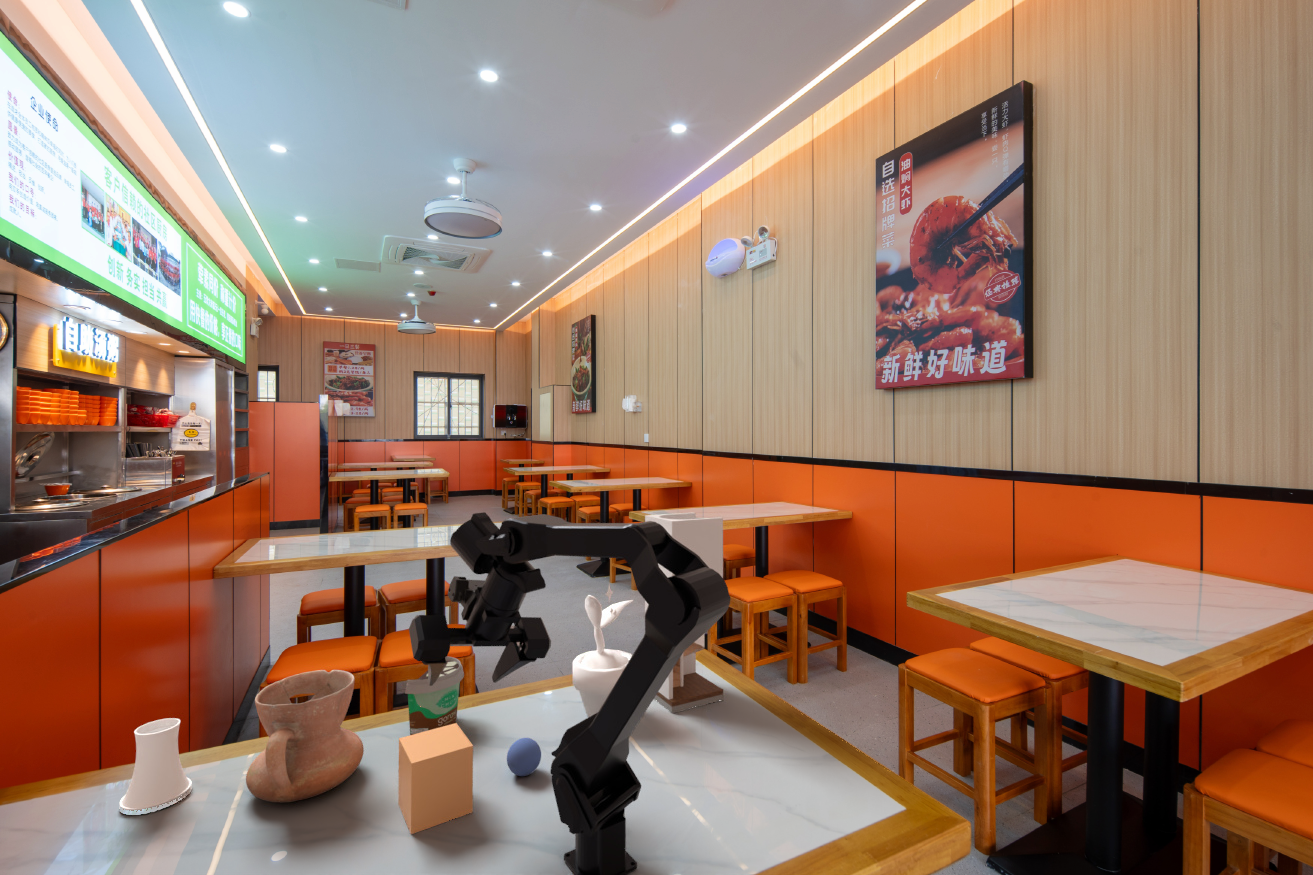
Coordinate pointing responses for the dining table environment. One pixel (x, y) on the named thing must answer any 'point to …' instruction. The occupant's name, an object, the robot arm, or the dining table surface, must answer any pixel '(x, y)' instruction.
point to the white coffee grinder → (683, 680)
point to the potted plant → (599, 658)
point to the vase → (156, 767)
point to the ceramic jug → (304, 737)
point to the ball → (523, 756)
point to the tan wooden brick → (435, 777)
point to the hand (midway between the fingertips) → (462, 681)
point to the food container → (434, 698)
